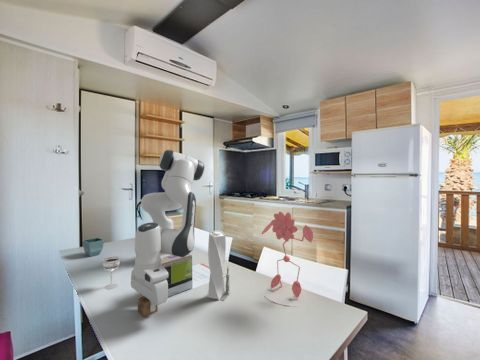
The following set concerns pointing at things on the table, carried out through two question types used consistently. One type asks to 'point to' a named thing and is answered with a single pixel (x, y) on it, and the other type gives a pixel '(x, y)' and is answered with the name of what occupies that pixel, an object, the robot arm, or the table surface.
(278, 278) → the figurine
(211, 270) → the skyscraper
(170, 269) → the tea box
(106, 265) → the wineglass
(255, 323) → the table surface
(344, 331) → the table surface
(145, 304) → the walnut cube
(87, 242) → the flower pot
